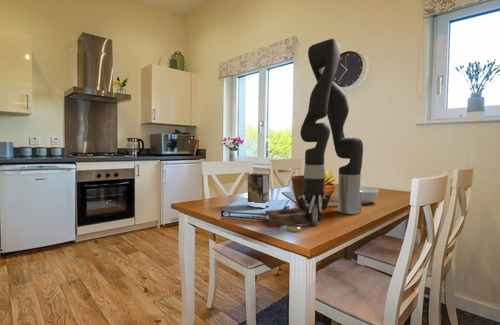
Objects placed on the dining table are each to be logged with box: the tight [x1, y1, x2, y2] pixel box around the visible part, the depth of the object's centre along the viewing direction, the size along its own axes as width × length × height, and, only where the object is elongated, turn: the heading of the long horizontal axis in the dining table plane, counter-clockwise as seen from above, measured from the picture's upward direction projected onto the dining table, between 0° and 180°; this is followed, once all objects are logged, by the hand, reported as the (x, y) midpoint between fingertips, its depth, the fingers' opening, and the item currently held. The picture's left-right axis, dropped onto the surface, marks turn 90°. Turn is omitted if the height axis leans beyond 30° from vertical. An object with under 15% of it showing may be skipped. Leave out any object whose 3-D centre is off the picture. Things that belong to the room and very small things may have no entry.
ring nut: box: [286, 224, 303, 233], centre depth 98 cm, size 5×5×2 cm
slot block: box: [265, 207, 309, 227], centre depth 109 cm, size 14×10×4 cm
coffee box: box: [247, 172, 270, 203], centre depth 133 cm, size 9×6×16 cm
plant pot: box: [290, 174, 326, 212], centre depth 123 cm, size 15×15×16 cm
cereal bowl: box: [360, 186, 379, 205], centre depth 145 cm, size 17×17×7 cm
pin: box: [308, 205, 319, 227], centre depth 104 cm, size 3×3×7 cm
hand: (313, 221), depth 104 cm, fingers closed on pin, 3 cm apart
